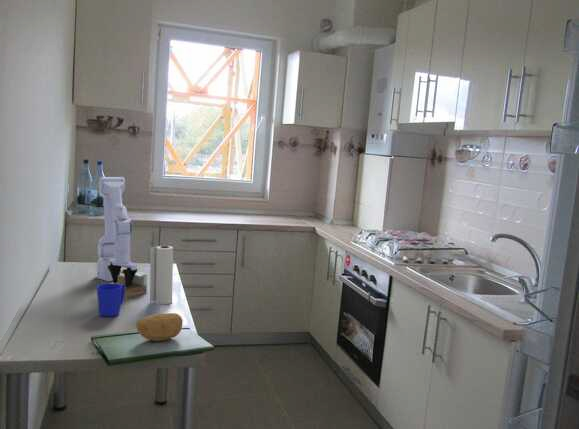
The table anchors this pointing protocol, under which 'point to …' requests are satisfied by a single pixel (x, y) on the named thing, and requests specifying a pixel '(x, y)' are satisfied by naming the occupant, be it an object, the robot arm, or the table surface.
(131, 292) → the socket block
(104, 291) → the mug
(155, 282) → the paper towel roll
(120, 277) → the peg
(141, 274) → the pale green grooved slab
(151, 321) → the potato
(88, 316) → the table surface
